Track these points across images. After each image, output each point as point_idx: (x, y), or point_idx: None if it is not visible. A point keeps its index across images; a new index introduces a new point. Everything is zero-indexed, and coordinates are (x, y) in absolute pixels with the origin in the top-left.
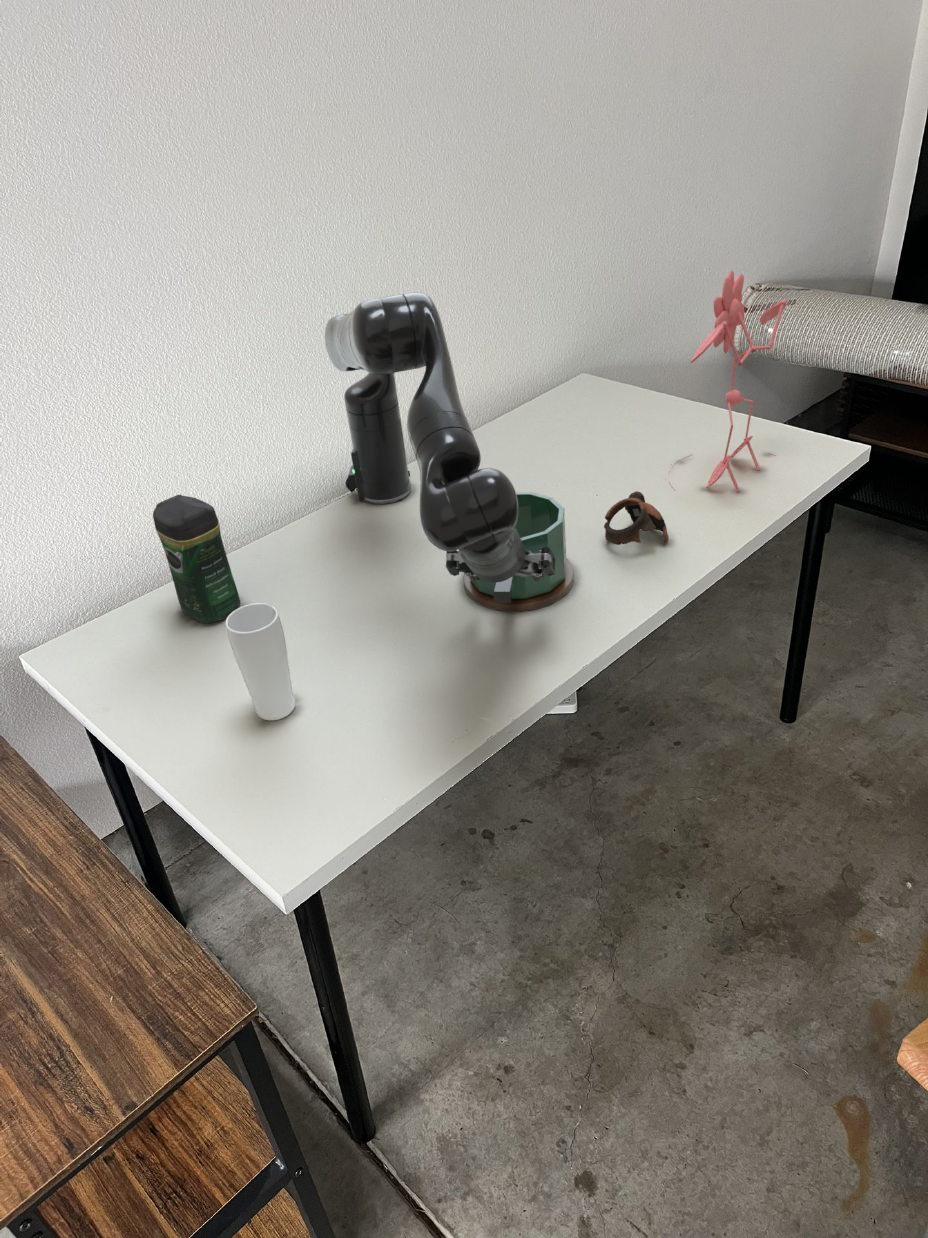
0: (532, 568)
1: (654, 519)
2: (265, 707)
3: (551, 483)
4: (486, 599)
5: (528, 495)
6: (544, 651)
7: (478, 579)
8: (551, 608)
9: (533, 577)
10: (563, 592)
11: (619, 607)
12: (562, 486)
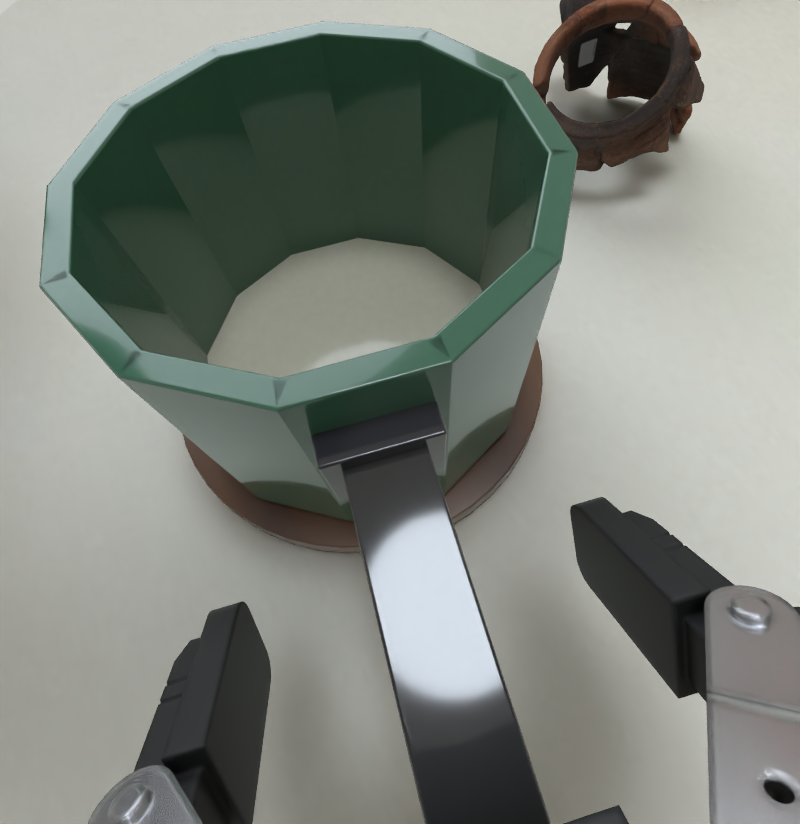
0: (675, 655)
1: (637, 65)
2: None
3: (299, 25)
4: (299, 532)
5: (315, 41)
6: (638, 775)
7: (268, 692)
8: (526, 485)
9: (643, 650)
10: (538, 407)
11: (733, 416)
12: None
